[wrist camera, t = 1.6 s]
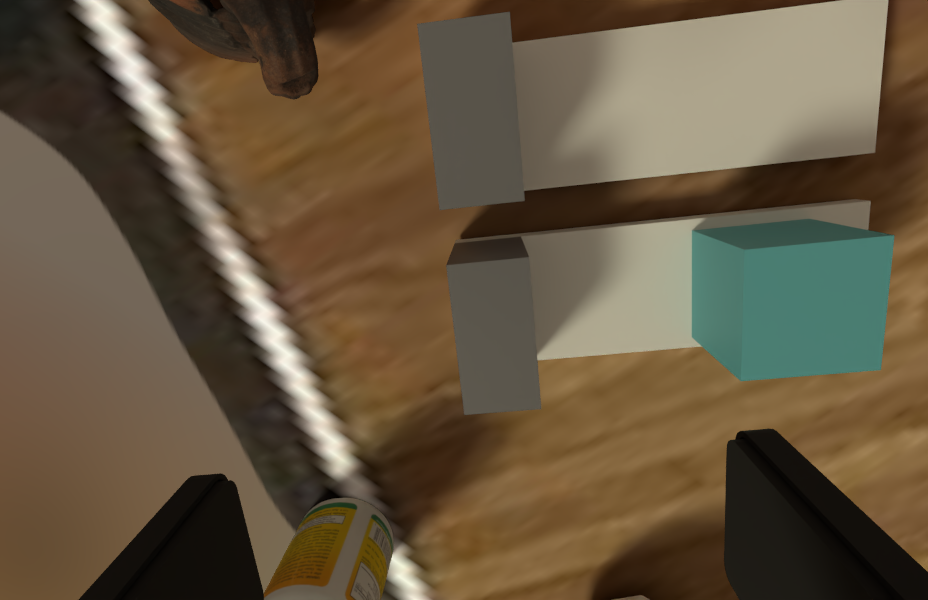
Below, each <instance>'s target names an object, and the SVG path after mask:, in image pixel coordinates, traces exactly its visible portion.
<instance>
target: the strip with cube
mask: <svg viewBox="0 0 928 600" xmlns="http://www.w3.org/2000/svg"><path fill="white" fill-rule="evenodd" d="M870 205H871V201H867V200H859V199H851V200H841V201H831V202H822V203H812V204H802V205H792V206H783V207H773V208H763V209H753V210H744V211H734V212H724V213H714V214H705V215H695V216H685V217H675V218H665V219H656V220H646V221H636V222H626V223H617V224H607V225H597V226H587V227H578V228H568V229H558V230H548V231H539V232H529V233H519V234H509V235H499V236H490V237H480V238H470V239H460V240H456V242H455V244H454V247H453V249H452V252H451V255H450V257H449V260H448V262H447V265H446V267H447V275H448V283H449V292H450V300H451V308H452V317H453V325H454V333H455V341H456V350H457V358H458V366H459V375H460V383H461V391H462V400H463V408H464V415H470V414H483V413H496V412H508V411H521V410H534V409H541V400H540V388H539V375H538V362H537V360H546V359H558V358H570V357H582V356H594V355H605V354H617V353H629V352H641V351H652V350H664V349H676V348H688V347H700V346H701V345H700V344H699V343H698V342H697V341H695V340H694V339H693V338H692V230H701V229H711V228H721V227H731V226H741V225H751V224H761V223H771V222H781V221H791V220H801V219H814V220H819V221H824V222H829V223H834V224H839V225H845V226H850V227H855V228H860V229H865V230H868V228H869V216H870Z"/></svg>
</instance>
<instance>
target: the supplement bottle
mask: <svg viewBox="0 0 928 600" xmlns="http://www.w3.org/2000/svg"><path fill="white" fill-rule="evenodd" d="M393 547H394V538H393V532H392V529H391V526H390V524H389V522H388V521H387V519H386V518H385V516H384V515H383V514H382V513H381V512H380V511H379V510H378V509H377V508H375V507H374V506H372V505H371V504H369V503H367V502H365V501H362V500H359V499H355V498H334V499H329V500H326V501H323V502H321V503H319V504H317V505H316V506H315V507H313V508H312V509H311V510H310V511H309V512H308V513H307V514H306V516H305V517H304V519H303V520H302V522H301V524H300V526H299V528H298V529H297V531H296V533H295V535H294V537H293V539H292V541H291V543H290V545H289V546H288V548H287V550H286V552H285V554H284V556H283V558H282V560H281V562H280V564H279V566H278V568H277V569H276V571H275V573H274V575H273V577H272V579H271V581H270V583H269V585H268V587H267V589H266V590H265V592H264V600H381V596H382V593H383V589H384V585H385V581H386V577H387V573H388V569H389V565H390V561H391V557H392V553H393Z"/></svg>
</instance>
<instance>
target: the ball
mask: <svg viewBox="0 0 928 600" xmlns="http://www.w3.org/2000/svg"><path fill="white" fill-rule="evenodd" d="M613 600H650V599H648V598H646V597H644V596H643V595H638V596H632V597H626V598H619V599H613Z"/></svg>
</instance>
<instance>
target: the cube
mask: <svg viewBox="0 0 928 600" xmlns="http://www.w3.org/2000/svg"><path fill="white" fill-rule="evenodd" d="M893 244H894V235H890V234H885V233H880V232H875V231H870V230H865V229H860V228H855V227H850V226H845V225H839V224H834V223H829V222H824V221H819V220H814V219H801V220H791V221H781V222H771V223H761V224H751V225H741V226H731V227H721V228H711V229H701V230H692V338H693V339H694V340H695V341H697V342H698V343H699V344H700V345H701V346H702V347H703V348H704V349H706V350H707V351H708V352H709V353H710V354H711V355H712V356H713V357H714V358H716V359H717V360H718V361H719V362H720V363H721V364H722V365H723V366H725V367H726V368H727V369H728V370H729V371H730V372H731V373H732V374H733V375H735V376H736V377H737V378H738V379H739V380H740V381H749V380H761V379H774V378H786V377H799V376H811V375H824V374H836V373H849V372H861V371H874V370H881V363H882V353H883V343H884V333H885V323H886V313H887V304H888V294H889V284H890V274H891V264H892V254H893Z"/></svg>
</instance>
